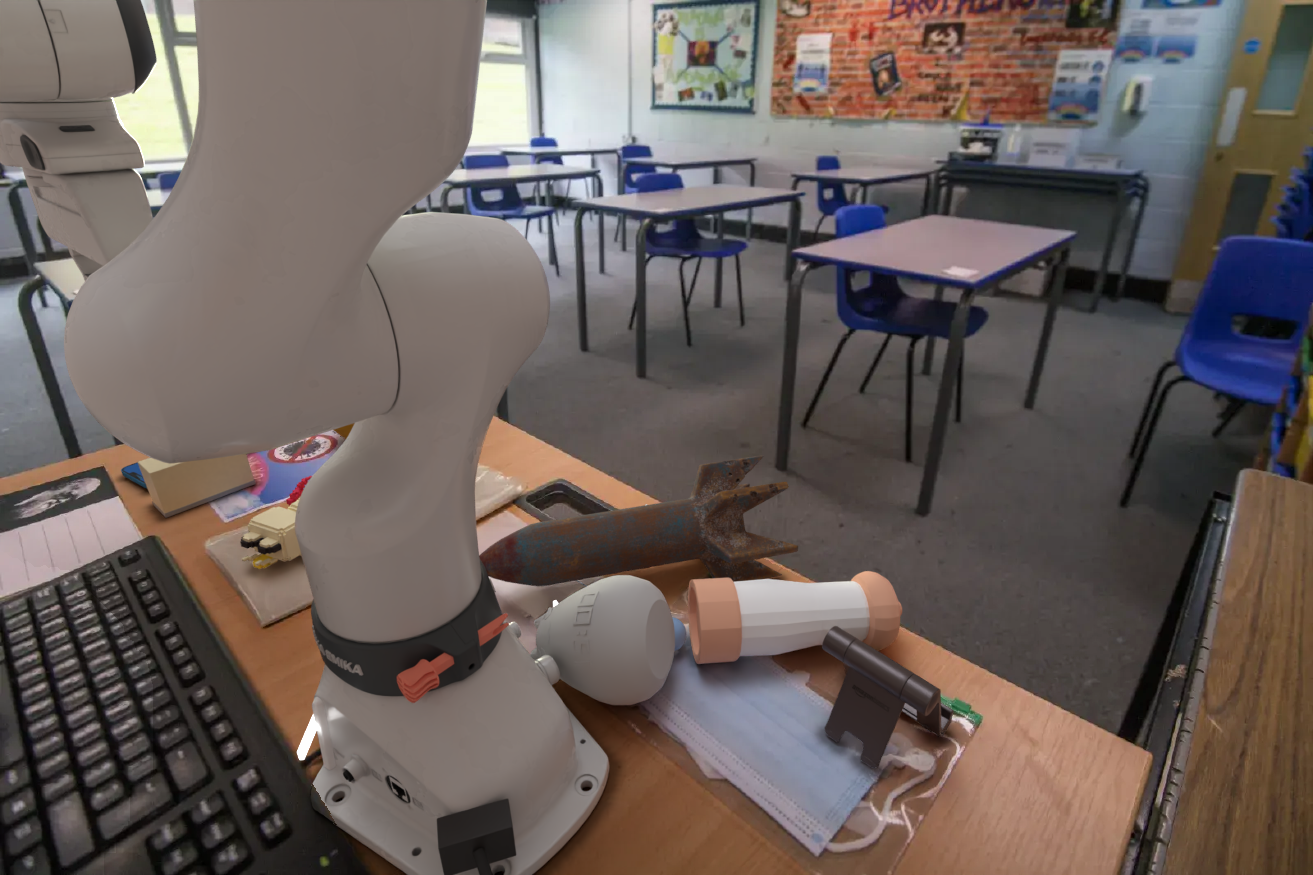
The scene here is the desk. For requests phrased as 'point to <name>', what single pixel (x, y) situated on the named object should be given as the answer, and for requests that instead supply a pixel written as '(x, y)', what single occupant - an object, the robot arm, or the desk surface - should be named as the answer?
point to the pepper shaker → (787, 615)
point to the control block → (194, 481)
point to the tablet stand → (878, 697)
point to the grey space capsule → (610, 639)
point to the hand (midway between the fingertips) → (118, 301)
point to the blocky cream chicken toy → (274, 532)
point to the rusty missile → (648, 536)
